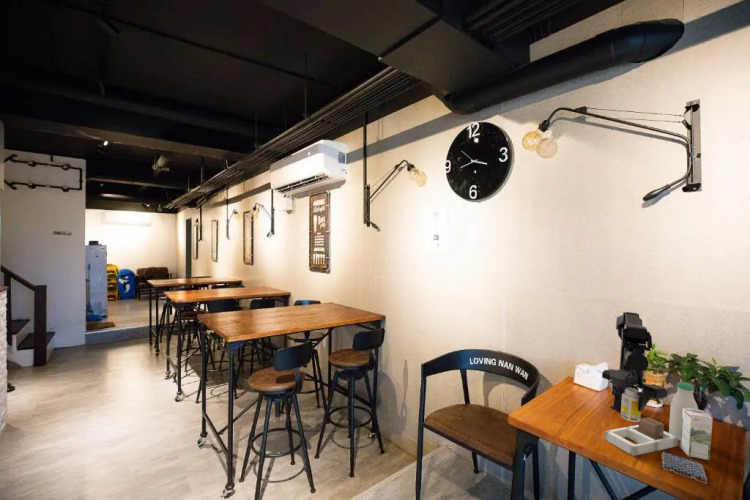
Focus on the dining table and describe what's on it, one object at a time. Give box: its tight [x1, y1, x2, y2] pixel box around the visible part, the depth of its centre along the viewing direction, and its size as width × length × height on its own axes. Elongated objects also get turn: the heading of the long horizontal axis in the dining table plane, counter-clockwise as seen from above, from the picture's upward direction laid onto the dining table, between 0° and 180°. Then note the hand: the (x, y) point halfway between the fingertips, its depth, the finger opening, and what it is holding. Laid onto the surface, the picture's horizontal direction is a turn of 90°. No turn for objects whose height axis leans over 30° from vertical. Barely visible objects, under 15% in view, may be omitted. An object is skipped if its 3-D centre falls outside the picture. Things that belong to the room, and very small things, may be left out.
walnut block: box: [638, 417, 665, 440], centre depth 124 cm, size 5×5×7 cm
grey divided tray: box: [603, 424, 679, 457], centre depth 123 cm, size 22×10×3 cm, turn 109°
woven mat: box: [660, 450, 708, 485], centre depth 109 cm, size 10×11×2 cm
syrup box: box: [679, 408, 713, 461], centre depth 117 cm, size 6×6×14 cm
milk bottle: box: [668, 381, 699, 442], centre depth 127 cm, size 8×8×20 cm
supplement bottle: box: [620, 388, 642, 423], centre depth 121 cm, size 6×6×10 cm
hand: (631, 407), depth 121 cm, fingers closed on supplement bottle, 5 cm apart
